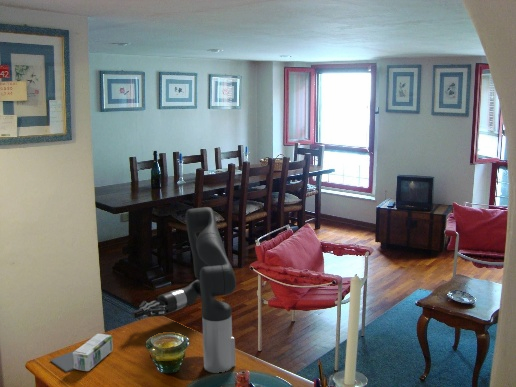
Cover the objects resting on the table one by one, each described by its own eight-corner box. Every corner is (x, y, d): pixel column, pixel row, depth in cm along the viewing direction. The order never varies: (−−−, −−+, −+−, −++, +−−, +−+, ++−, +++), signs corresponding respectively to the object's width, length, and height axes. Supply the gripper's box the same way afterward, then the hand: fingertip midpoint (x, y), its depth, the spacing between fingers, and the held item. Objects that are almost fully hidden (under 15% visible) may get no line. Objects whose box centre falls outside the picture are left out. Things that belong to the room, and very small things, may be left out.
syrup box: (113, 350, 180) (89, 372, 166) (98, 348, 181) (72, 369, 168) (112, 335, 179) (88, 355, 165) (97, 332, 180) (71, 352, 167)
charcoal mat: (86, 347, 184) (86, 345, 183) (103, 357, 176) (103, 356, 176) (50, 361, 174) (50, 359, 174) (66, 372, 167) (66, 371, 167)
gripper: (161, 288, 206) (122, 301, 193) (182, 296, 197) (143, 310, 184) (162, 306, 207) (123, 320, 195) (183, 315, 198) (144, 330, 186)
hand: (133, 315), depth 190 cm, fingers closed
